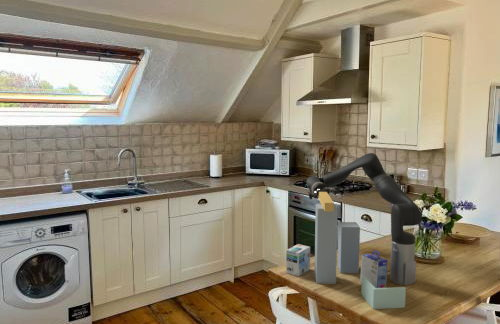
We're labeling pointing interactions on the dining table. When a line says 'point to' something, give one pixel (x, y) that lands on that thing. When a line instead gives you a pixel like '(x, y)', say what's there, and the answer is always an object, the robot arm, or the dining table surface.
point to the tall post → (325, 245)
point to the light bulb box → (298, 260)
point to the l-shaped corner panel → (383, 295)
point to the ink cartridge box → (374, 269)
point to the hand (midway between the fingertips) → (326, 194)
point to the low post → (348, 247)
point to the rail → (326, 201)
